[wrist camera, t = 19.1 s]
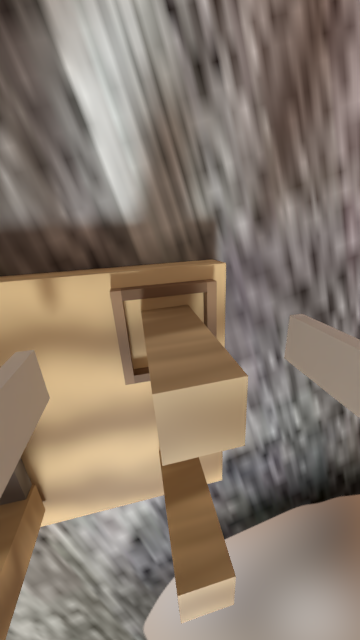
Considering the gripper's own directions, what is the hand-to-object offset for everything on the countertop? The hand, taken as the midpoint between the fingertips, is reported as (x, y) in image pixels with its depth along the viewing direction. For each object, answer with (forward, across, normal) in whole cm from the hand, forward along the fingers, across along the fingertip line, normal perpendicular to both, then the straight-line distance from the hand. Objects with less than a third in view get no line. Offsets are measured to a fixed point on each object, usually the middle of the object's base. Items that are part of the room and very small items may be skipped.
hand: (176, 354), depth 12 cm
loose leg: (+3, 0, 0) cm, 3 cm away
